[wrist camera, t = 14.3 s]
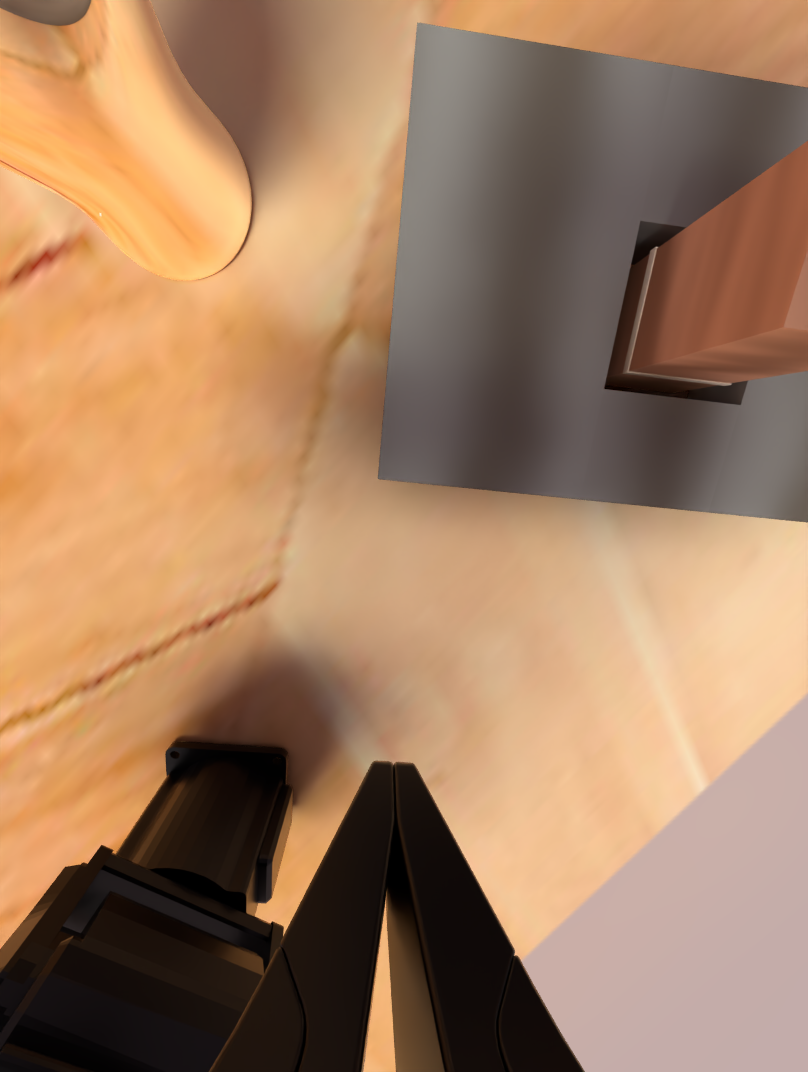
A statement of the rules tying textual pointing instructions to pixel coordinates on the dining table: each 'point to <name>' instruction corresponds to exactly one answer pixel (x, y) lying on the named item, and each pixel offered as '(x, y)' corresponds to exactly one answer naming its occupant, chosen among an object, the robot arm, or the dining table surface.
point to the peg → (722, 292)
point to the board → (573, 278)
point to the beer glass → (120, 133)
